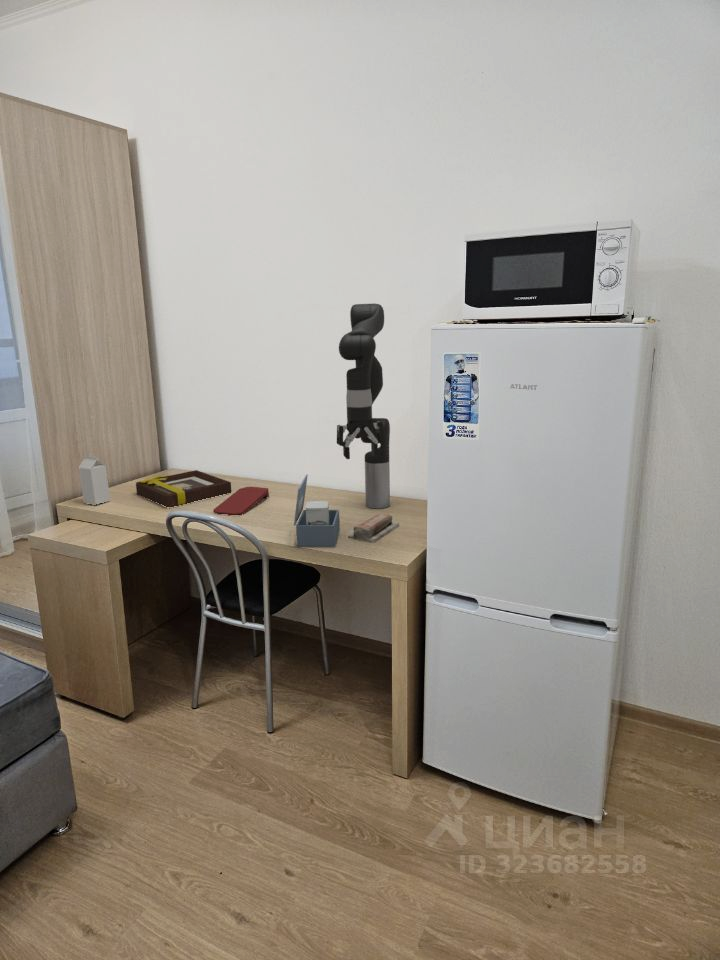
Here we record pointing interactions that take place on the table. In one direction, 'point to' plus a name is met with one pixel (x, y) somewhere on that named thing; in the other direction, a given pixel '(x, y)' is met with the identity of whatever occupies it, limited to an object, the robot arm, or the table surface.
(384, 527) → the packaged product
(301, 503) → the lid
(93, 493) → the milk carton
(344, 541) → the table surface
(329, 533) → the open blue-gray box
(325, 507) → the supplement box
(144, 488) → the brown gift box
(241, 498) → the red wedge
